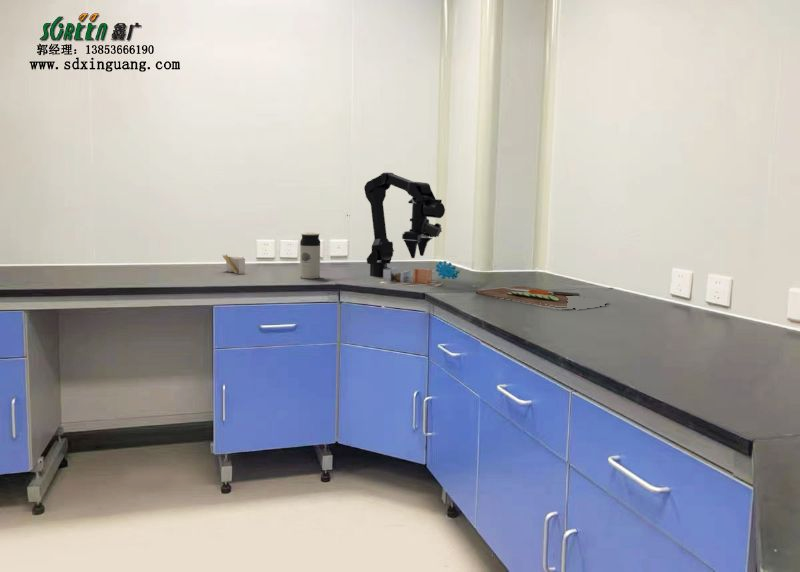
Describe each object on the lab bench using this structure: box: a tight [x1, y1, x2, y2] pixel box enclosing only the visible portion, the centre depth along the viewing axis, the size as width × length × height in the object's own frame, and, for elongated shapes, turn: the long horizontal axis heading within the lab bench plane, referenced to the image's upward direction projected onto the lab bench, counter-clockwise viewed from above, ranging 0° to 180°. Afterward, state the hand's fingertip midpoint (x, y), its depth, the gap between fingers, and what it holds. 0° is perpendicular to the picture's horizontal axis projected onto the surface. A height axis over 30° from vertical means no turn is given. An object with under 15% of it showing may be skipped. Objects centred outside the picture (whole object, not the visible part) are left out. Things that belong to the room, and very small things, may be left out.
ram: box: [400, 267, 433, 285], centre depth 256 cm, size 10×7×5 cm
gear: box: [435, 260, 461, 280], centre depth 278 cm, size 11×6×10 cm
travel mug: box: [299, 232, 321, 280], centre depth 272 cm, size 8×8×18 cm
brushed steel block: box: [382, 266, 400, 284], centre depth 260 cm, size 3×8×5 cm, turn 158°
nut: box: [394, 272, 401, 282], centre depth 259 cm, size 4×4×4 cm
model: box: [222, 253, 246, 275], centre depth 282 cm, size 3×11×8 cm, turn 58°
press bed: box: [379, 280, 444, 289], centre depth 257 cm, size 22×12×2 cm, turn 68°
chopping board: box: [475, 285, 581, 308], centre depth 237 cm, size 45×27×3 cm, turn 38°
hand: (417, 256), depth 259 cm, fingers open, 9 cm apart
